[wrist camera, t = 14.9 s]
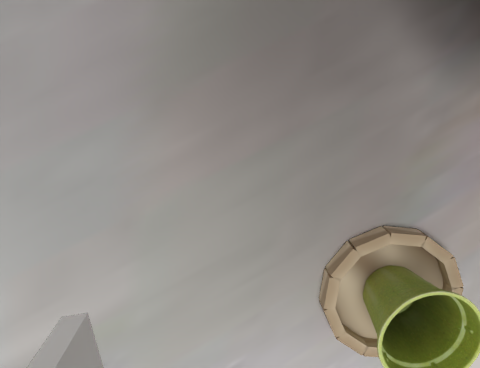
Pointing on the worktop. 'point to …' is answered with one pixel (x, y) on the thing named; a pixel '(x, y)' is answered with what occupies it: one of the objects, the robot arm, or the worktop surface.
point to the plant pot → (420, 321)
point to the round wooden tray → (368, 261)
